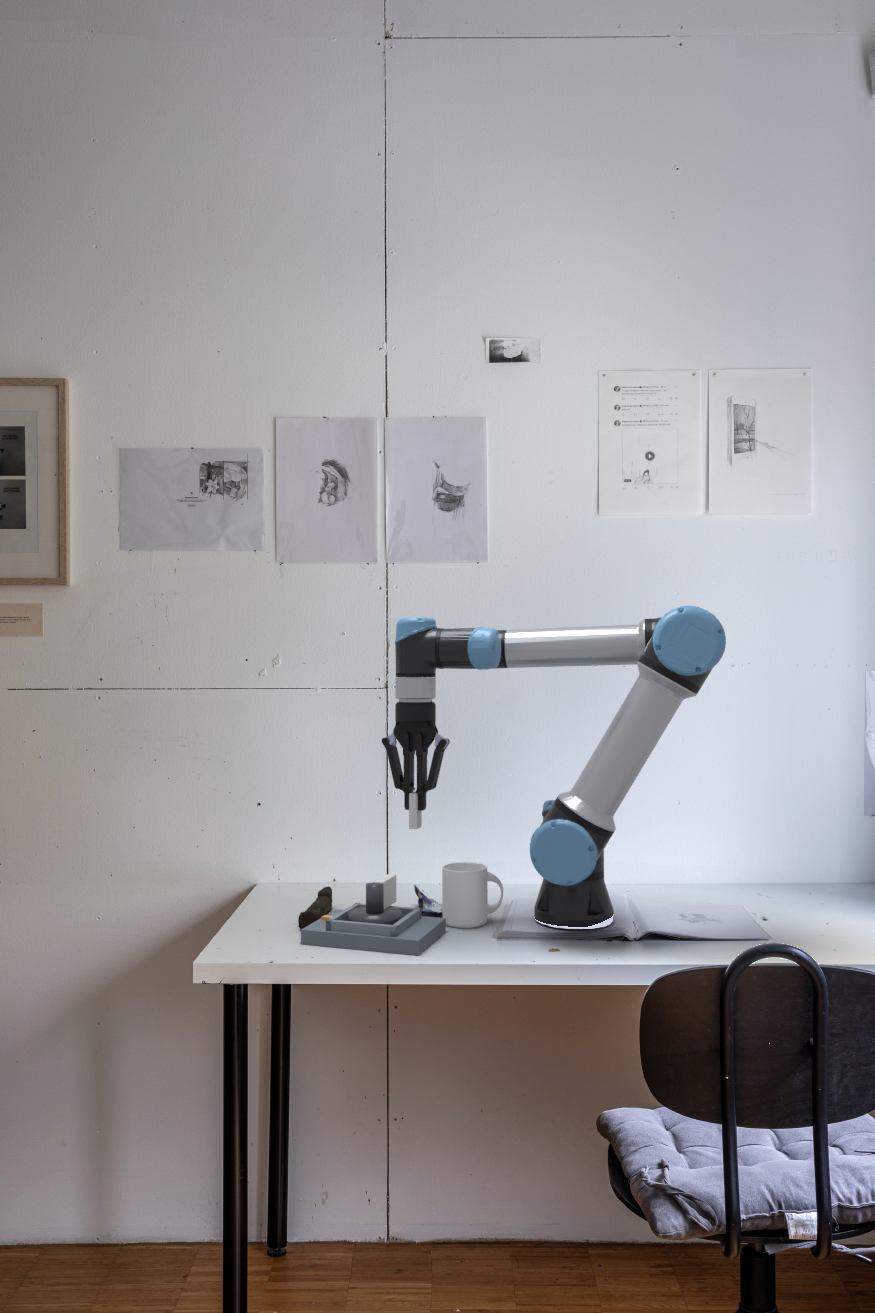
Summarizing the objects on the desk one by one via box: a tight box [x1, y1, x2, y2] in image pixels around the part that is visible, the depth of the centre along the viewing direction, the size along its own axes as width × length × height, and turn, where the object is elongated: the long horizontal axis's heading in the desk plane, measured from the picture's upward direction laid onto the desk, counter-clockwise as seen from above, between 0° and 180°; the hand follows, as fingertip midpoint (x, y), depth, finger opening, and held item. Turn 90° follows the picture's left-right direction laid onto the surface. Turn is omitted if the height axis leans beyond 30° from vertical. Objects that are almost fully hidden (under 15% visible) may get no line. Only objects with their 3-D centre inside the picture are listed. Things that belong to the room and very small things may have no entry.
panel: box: [300, 902, 447, 956], centre depth 168 cm, size 22×15×4 cm
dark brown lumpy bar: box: [297, 885, 333, 930], centre depth 182 cm, size 19×4×5 cm, turn 172°
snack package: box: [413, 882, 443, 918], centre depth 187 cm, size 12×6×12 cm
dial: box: [348, 873, 401, 925], centre depth 170 cm, size 13×10×7 cm
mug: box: [441, 861, 504, 929], centre depth 179 cm, size 9×12×11 cm
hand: (415, 827), depth 174 cm, fingers closed
